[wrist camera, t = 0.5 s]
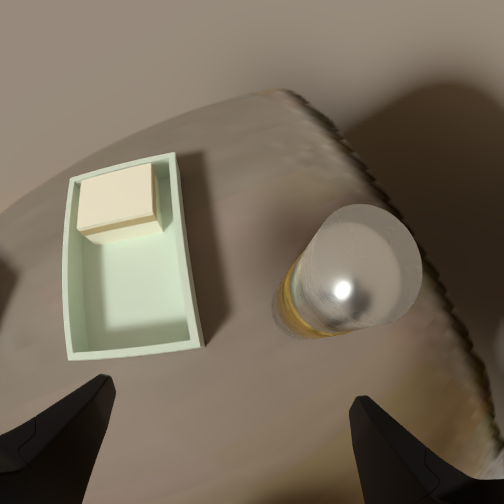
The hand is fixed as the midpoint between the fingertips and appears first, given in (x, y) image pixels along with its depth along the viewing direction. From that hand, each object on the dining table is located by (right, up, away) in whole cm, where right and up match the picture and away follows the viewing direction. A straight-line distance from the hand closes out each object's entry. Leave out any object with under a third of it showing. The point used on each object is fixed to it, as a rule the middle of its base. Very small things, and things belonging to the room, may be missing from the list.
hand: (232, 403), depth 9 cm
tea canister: (+5, 0, +15) cm, 16 cm away
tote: (-10, +4, +15) cm, 19 cm away
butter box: (-11, +9, +16) cm, 22 cm away
